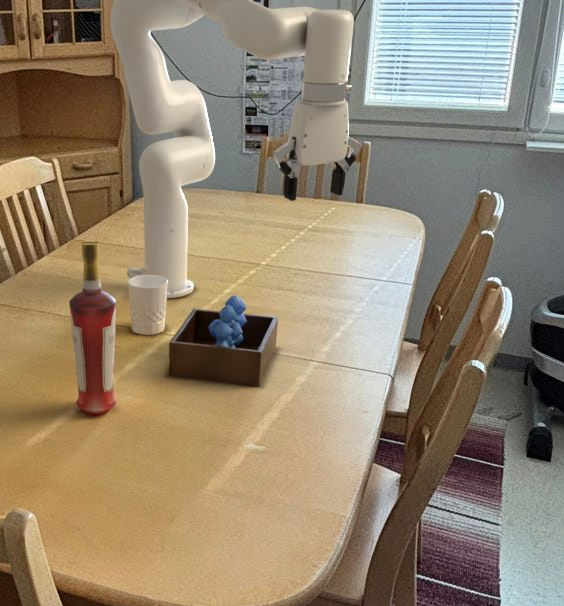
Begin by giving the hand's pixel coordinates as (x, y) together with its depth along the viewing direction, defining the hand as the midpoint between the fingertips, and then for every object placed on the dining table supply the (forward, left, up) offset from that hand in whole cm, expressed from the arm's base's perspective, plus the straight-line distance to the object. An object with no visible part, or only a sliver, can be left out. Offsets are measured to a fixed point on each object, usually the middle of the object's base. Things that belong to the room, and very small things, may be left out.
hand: (313, 196), depth 157 cm
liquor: (-28, -43, -27) cm, 58 cm away
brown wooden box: (-12, -18, -27) cm, 34 cm away
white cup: (-30, -6, -27) cm, 41 cm away
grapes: (-12, -18, -26) cm, 34 cm away
